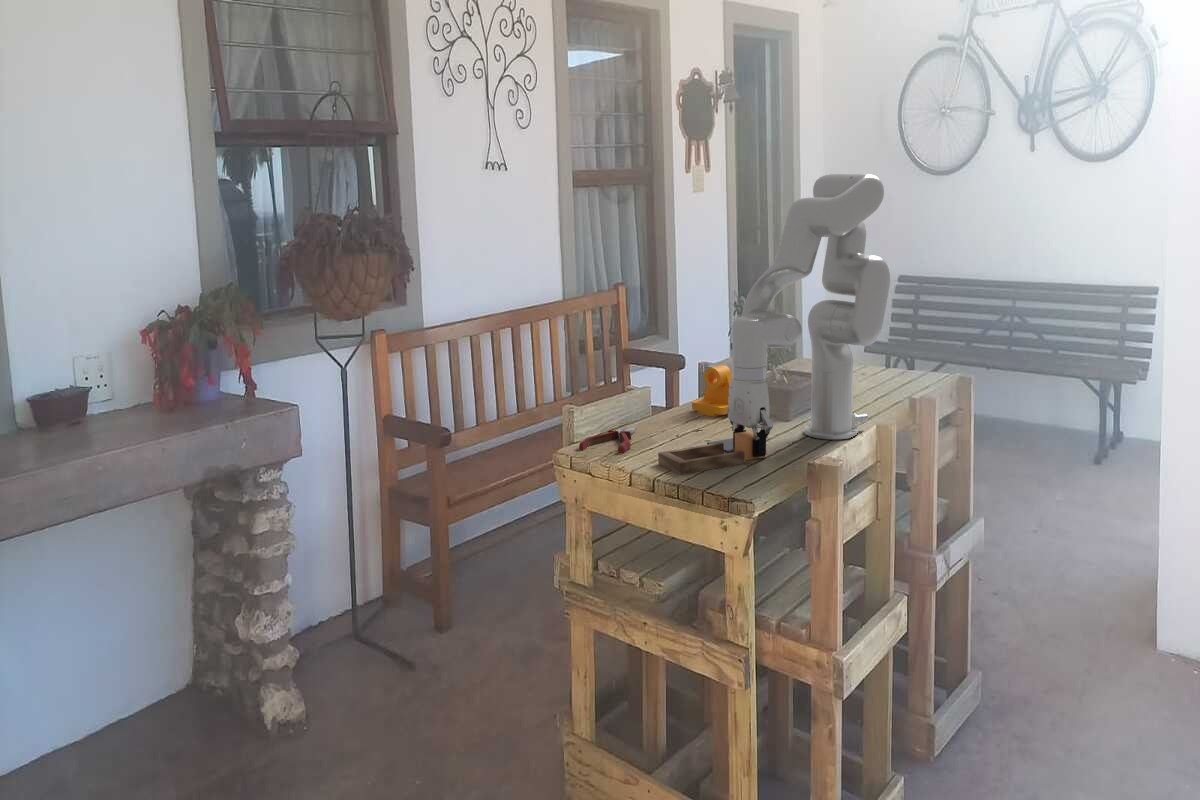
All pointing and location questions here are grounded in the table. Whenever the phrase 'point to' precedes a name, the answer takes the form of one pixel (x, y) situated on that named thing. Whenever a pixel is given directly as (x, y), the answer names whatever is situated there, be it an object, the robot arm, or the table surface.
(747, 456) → the orange block
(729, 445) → the rubber mat
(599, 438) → the pliers
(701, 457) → the brown wooden tray
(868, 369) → the table surface
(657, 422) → the table surface
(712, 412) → the bracket
